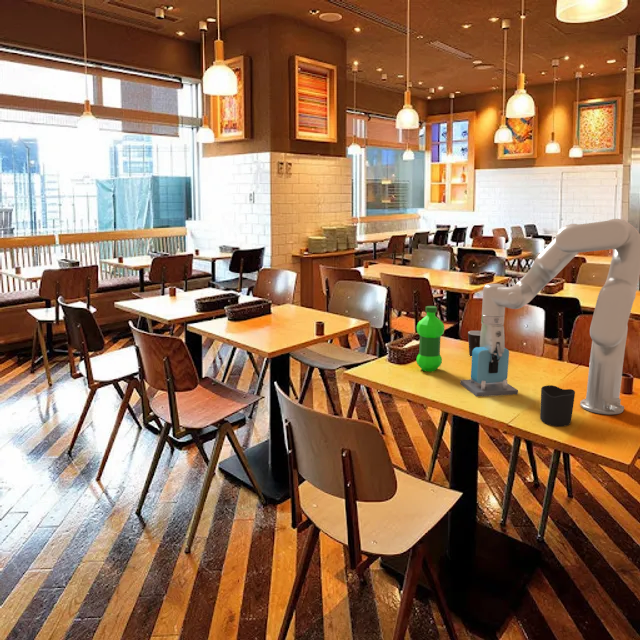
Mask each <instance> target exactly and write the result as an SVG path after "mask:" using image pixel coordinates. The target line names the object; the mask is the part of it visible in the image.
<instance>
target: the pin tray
mask: <svg viewBox="0 0 640 640" xmlns="http://www.w3.org/2000/svg"><path fill="white" fill-rule="evenodd" d="M459 381H460V382H459V383H460V386H462V387H463V388H465V389H466V390H467V391H468V392H470V393H471V394H472V395H474V396H475V397H476V398H478V396H482V397H495V396H512V395H513V394H515V395H518V394H519V390H518V389H517V388H515V387H514V386H513V385H511V384H510V383H508V379H504V380H503V382H493V383H486V381H481V384H480V383H478V382H476V381H474V380H472V378H471V377H470V379H460V380H459Z"/></svg>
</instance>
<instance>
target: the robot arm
mask: <svg viewBox="0 0 640 640" xmlns="http://www.w3.org/2000/svg"><path fill="white" fill-rule="evenodd" d="M607 250H608V251H609V250H612V256H611V261H610V265H609V269H608V273H607V277H606V280H605V283H604V285H602V287H601V289H600V290H599V292H598V295H597V299H596V303H595V307H594V310H593V311H594V312H593V314H592V319H591V322H590V327H589V336H590V338H591V340H592V341H591V349H590V354H589V355H590V357H589V367H588V374H587V375H588V376H587V385H586V386H587V387H586V395H585V398H583V399H582V400H580V401H579V402H580V403H579V405H580V407H581V408H582V409H583V410H586V411H588V412H591V413H594V414H599V415H600V414H601V415H609V416H610V415H619V414H621V413H623V412H624V409H625V406H624V405H622V404H621V400H622V399H621V398H620V395H621V393H620V392H621V387H622V386H621V385H622V376H623V368H624V367H623V366H624V358H625V351H626V343H627V339H628V338H627V337H628V332H629V331H628V329H629V328H628V323H629V319H630V316H631V311H632V308H633V304H634V301H635V299H636V297H637V296H636V295H637V294H636V293H637V286H638V282H639V280H640V232H639V231H638V229H636V227H635V226H633V225H632V224H631V223H630V222H628V221H626V220H625V219H621V218H612V219H609V220H602V221H596V222H588V223H587V222H586V223H579V224H577V223H570V224H566V225H564V226H563V227H561V228H560V229H559V230H558V231H557V233H556V235H555V237H554V238H553V239H552V240H551V242H550V243H548V244H547V246H546V247H545V248H544V249H543V250H542V251H541V252H540V253H539V254H538V255H537V256H536V257H535V259H534V261H533V264H532V266H531V267H530V268H529V270H528V271H527V272H526V273H525V275H523V276H522V277H521V278H520V280H519V281H517V282H516V284H514V285H512V286H505V285H504V284H501V283H487V284H485V285H484V286H483V289H482V302H481V303H482V304H481V305H482V307H481V321H480V323H481V328H480V331H481V335H480V347H484V348H486V349H488V351H489V353H490V362H489V373H498V363H499V360H500V358H501V357H502V354H503V353H504V348H505V344H506V343H505V342H506V341H505V339H506V337H505V326H504V324H505V315H506V308H507V309H511V310H518V309H521V308H523V307H525V306H526V305H527V304H529V303H530V302H531V301H533V299H534V298H535V297H536V296H537V295H538V294H539V293H540V291H542V290H543V289H544V287H546V286H547V285H548V283H550V282H551V281H552V280H553V279H554V278H555V277H556V276H557V275H558V274H559V273H560V272H561V271H562V270H563V269H564V268H565V267H566V266H567V265H568V264H569V263H570V262H571V261H572V260H573V259H574V258H575V257H577V255H578V254H579V253H586V252H587V253H588V252H589V253H590V252H597V251H607ZM494 351H496V353H494ZM493 355H496V356H494V358H493Z"/></svg>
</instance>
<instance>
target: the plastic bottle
mask: <svg viewBox="0 0 640 640" xmlns="http://www.w3.org/2000/svg"><path fill="white" fill-rule="evenodd" d="M425 312H426V315H425V316H424V317H423V318H422V319H421V320H419V321H418V322H417V325H416V333H417V334H418V335H419V342H418V343H419V344H418V345H419V347H418V348H419V349H418V350H419V351H418V354H417V356H416V360H415V361H416V364H417V366H418V367H419V368H420V369H421V370H422V371H424V372H430V373H431V372H435V371H436V370H437V369H438V368H439V367H441V365H442V364H443V363H442V362H443V358H442V356H441V337H442V335H444V332H445V324H444V322H443V321H442V320H440V319H439V318H438V317H437V316H436V313H438V307H437V306H436V305H427V306H425Z"/></svg>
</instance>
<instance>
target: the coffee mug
mask: <svg viewBox="0 0 640 640" xmlns="http://www.w3.org/2000/svg"><path fill="white" fill-rule="evenodd" d="M480 335H481V330H470V331H468V332H467V336H468V337H467V338H468V339H467V340H468V355H470V356H472V351H473V349H474V348H476V347H480ZM470 356H469V357H470Z"/></svg>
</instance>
